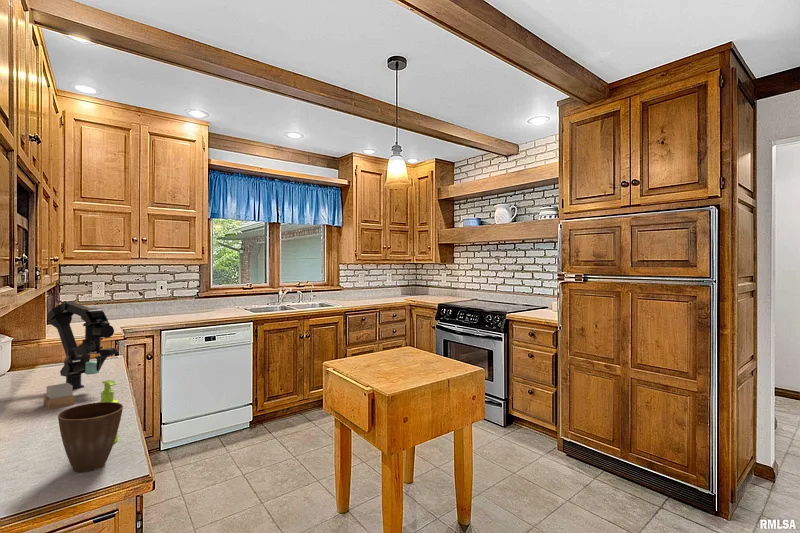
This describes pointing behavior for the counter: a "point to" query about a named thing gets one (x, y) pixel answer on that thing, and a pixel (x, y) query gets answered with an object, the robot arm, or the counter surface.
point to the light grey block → (59, 391)
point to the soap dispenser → (108, 395)
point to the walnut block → (59, 401)
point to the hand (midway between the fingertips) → (92, 370)
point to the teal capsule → (91, 367)
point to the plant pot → (89, 433)
